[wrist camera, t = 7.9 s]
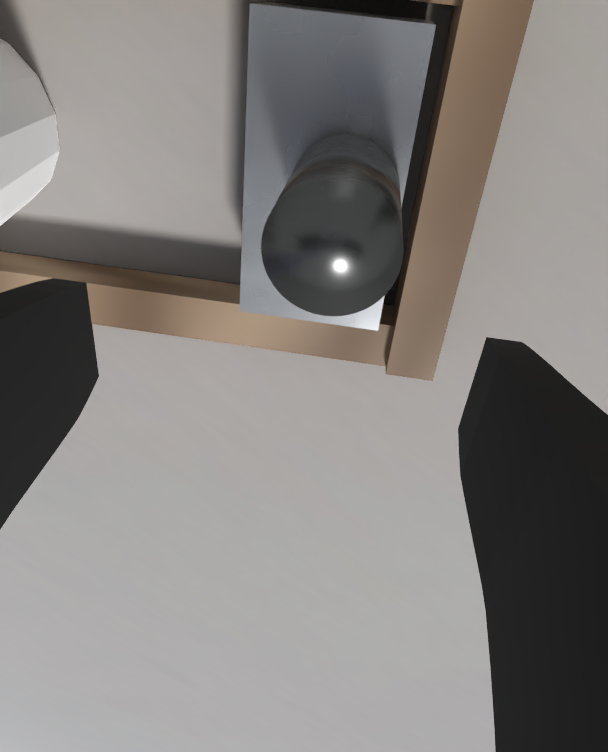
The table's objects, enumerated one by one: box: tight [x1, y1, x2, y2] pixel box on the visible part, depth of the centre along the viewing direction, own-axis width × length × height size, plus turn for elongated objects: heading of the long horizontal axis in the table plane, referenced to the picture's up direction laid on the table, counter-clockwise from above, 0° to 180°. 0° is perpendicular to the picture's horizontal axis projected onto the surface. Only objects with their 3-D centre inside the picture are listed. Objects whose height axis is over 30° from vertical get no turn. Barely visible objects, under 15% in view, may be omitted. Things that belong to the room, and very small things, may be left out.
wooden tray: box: [0, 0, 534, 381], centre depth 16 cm, size 22×12×5 cm, turn 85°
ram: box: [239, 2, 436, 331], centre depth 15 cm, size 4×8×7 cm, turn 175°
